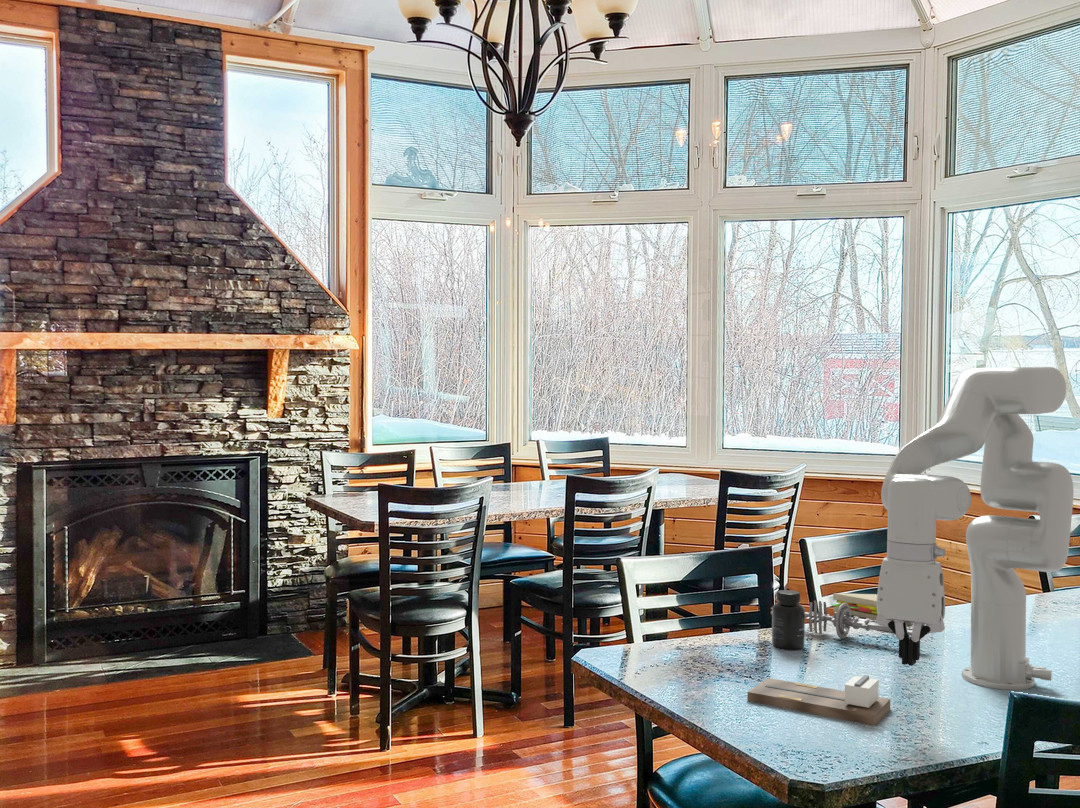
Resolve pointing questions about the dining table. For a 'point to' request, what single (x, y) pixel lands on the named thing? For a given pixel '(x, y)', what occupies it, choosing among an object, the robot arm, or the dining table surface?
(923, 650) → the dining table surface
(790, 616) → the supplement bottle
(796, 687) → the fader track
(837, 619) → the spaceship
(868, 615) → the sandwich
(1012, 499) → the robot arm
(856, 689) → the fader knob
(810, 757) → the dining table surface
